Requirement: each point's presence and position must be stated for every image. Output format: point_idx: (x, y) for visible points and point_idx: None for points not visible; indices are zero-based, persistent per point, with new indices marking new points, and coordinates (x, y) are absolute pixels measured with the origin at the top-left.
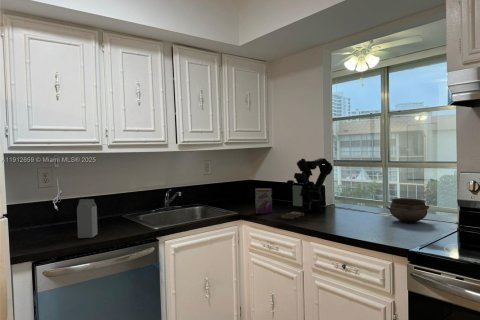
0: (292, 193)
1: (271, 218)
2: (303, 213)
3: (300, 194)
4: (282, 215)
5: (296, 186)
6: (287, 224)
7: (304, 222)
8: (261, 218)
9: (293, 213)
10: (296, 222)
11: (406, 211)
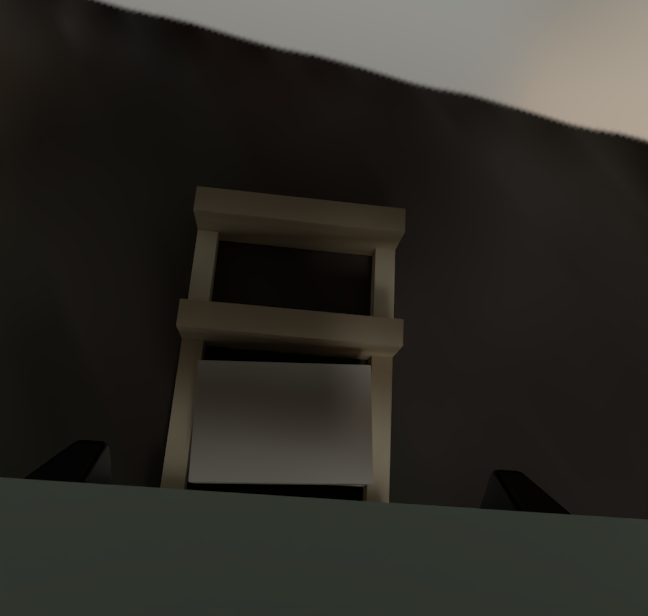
0: (517, 495)
1: (519, 201)
2: None
3: (74, 459)
4: (387, 211)
5: (372, 506)
6: (172, 22)
7: (9, 198)
8: (616, 145)
9: (302, 411)
10: (113, 151)
11: None
